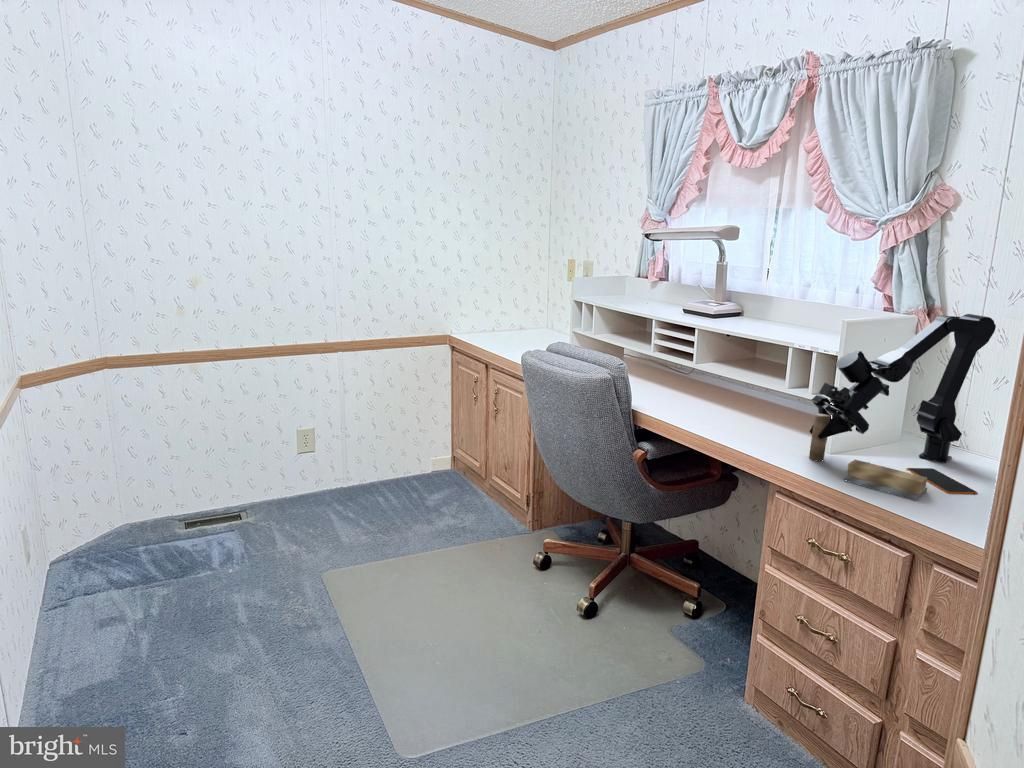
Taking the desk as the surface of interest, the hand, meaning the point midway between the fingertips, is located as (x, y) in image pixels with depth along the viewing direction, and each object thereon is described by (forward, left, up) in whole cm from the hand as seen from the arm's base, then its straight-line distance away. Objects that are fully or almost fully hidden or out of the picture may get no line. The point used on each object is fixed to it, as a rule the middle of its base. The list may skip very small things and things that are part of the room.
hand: (814, 435), depth 179 cm
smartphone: (-9, +28, -7) cm, 30 cm away
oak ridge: (+6, +20, -7) cm, 22 cm away
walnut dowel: (-1, +1, -7) cm, 7 cm away
